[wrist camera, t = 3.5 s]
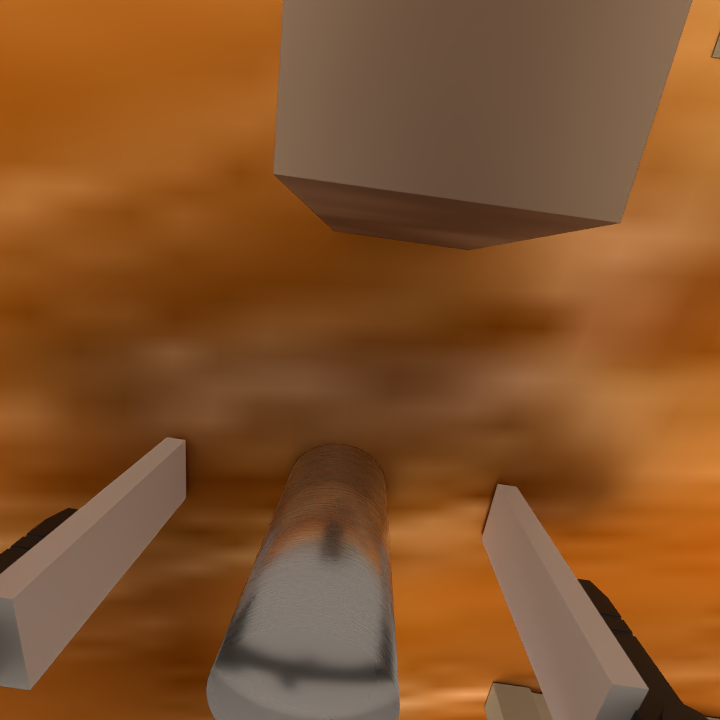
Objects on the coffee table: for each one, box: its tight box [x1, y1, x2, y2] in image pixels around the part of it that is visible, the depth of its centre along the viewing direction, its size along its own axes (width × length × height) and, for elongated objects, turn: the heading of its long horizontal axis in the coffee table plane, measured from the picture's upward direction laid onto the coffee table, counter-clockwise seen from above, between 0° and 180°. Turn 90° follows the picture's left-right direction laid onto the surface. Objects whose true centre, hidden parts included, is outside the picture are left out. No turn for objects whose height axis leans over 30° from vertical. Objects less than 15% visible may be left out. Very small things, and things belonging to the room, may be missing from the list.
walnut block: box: [273, 0, 692, 250], centre depth 7 cm, size 4×4×7 cm
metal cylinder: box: [206, 444, 400, 720], centre depth 10 cm, size 4×4×7 cm
